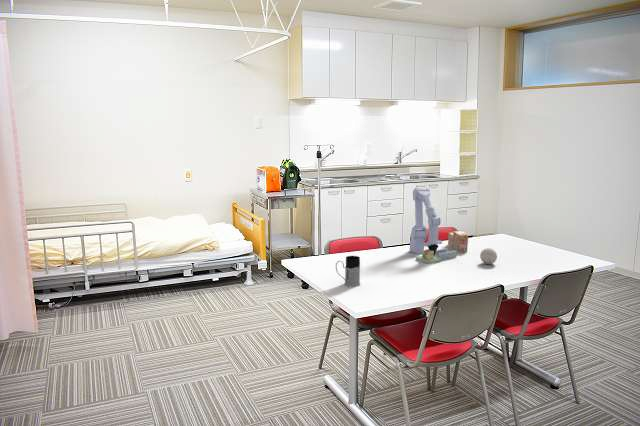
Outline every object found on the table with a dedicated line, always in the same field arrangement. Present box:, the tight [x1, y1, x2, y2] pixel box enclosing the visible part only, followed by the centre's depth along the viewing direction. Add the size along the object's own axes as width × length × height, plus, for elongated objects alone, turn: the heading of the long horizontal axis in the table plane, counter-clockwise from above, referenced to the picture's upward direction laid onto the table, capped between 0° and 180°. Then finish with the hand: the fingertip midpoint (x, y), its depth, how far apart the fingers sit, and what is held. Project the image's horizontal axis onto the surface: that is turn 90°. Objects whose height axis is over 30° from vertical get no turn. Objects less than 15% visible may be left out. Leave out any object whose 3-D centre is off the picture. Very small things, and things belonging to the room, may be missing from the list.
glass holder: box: [335, 255, 361, 288], centre depth 280 cm, size 9×14×15 cm, turn 110°
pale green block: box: [415, 248, 457, 265], centre depth 335 cm, size 12×27×4 cm, turn 126°
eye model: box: [479, 247, 498, 265], centre depth 324 cm, size 10×10×10 cm
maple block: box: [421, 248, 434, 260], centre depth 329 cm, size 5×5×5 cm
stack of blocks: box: [447, 230, 469, 253], centre depth 363 cm, size 21×6×12 cm, turn 6°
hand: (432, 255), depth 333 cm, fingers closed
